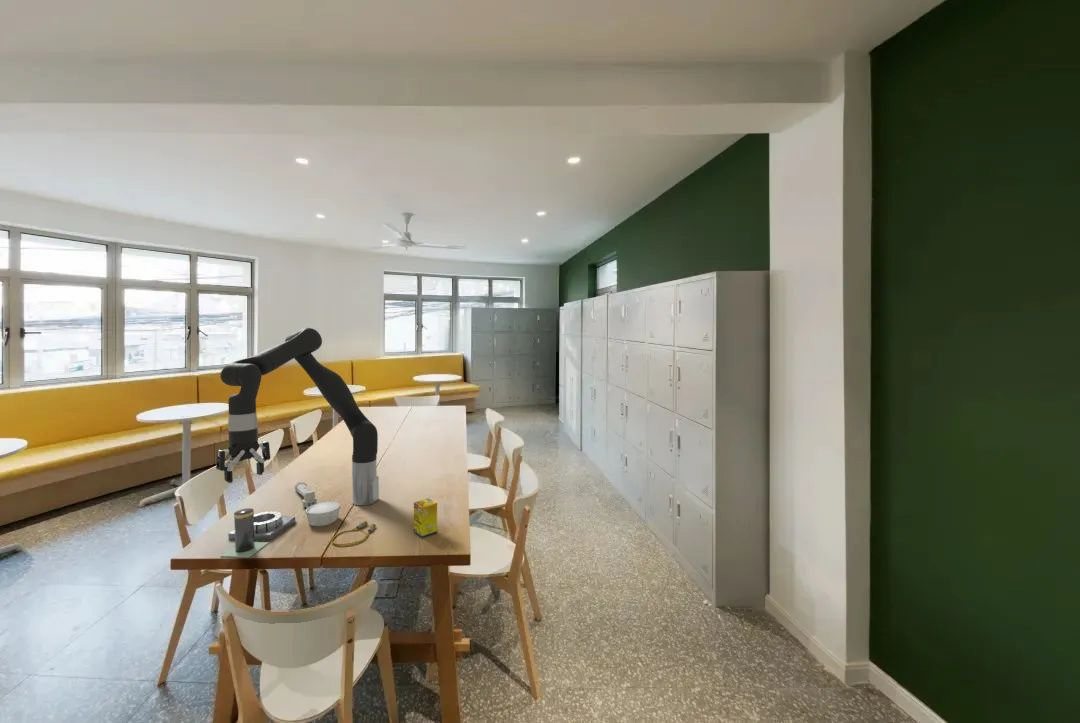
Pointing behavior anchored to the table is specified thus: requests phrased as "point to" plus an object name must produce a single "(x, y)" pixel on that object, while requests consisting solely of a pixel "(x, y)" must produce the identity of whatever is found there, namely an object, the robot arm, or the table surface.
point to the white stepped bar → (306, 494)
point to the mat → (245, 554)
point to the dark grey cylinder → (244, 530)
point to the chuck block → (268, 525)
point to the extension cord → (356, 530)
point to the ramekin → (322, 513)
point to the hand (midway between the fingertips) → (244, 478)
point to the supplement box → (425, 517)
